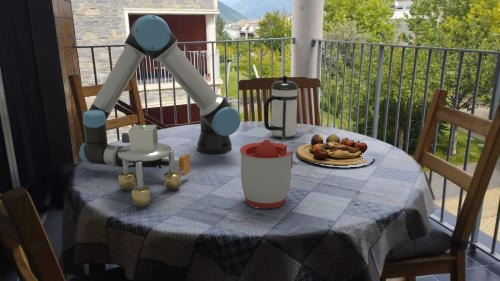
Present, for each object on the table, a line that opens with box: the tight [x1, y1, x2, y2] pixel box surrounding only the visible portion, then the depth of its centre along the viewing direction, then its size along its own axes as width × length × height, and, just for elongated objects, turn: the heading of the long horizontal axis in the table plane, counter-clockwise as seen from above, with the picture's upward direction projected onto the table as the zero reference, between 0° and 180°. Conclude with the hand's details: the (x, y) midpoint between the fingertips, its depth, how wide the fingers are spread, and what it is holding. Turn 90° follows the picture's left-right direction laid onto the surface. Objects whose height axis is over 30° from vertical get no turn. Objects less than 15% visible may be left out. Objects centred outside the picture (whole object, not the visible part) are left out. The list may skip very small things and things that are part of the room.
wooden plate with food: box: [295, 133, 369, 166], centre depth 167 cm, size 32×32×8 cm
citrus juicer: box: [239, 139, 298, 209], centre depth 121 cm, size 16×17×20 cm
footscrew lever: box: [163, 149, 191, 190], centre depth 134 cm, size 13×5×13 cm, turn 160°
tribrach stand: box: [117, 124, 172, 209], centre depth 124 cm, size 18×19×23 cm
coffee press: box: [263, 75, 299, 140], centre depth 192 cm, size 17×16×30 cm
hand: (179, 163), depth 137 cm, fingers closed
